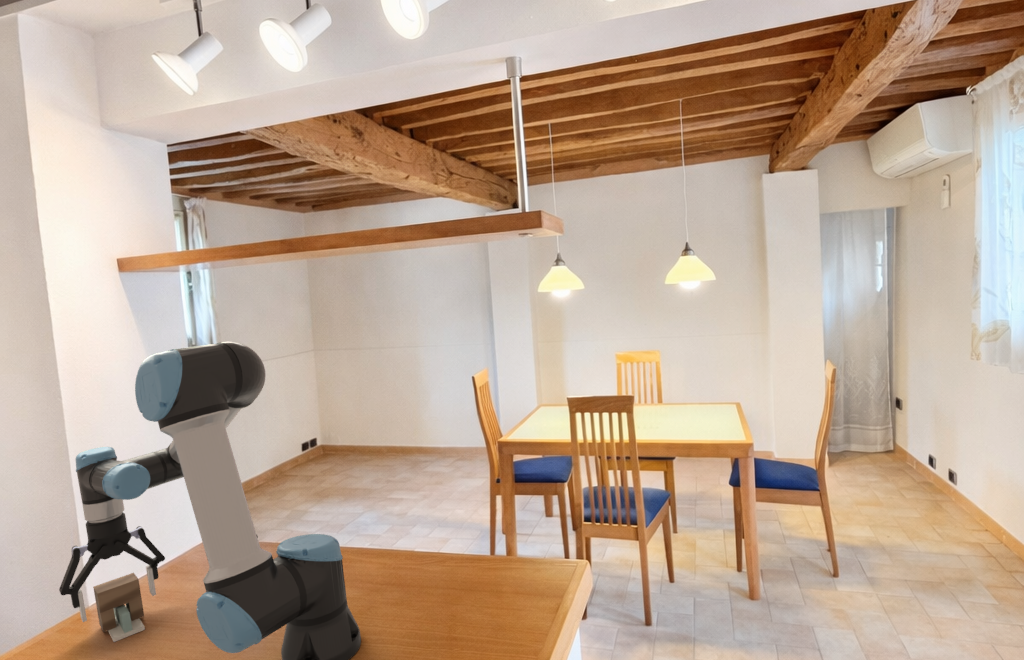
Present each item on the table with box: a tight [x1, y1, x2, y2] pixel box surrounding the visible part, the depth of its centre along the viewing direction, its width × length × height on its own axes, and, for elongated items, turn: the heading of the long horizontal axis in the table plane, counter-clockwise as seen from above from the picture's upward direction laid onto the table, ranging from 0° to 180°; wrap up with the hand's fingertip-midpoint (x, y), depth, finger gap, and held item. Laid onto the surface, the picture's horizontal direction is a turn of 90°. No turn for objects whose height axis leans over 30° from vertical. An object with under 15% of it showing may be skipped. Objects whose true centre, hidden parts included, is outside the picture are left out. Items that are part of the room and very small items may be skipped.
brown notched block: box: [93, 572, 145, 633], centre depth 140 cm, size 5×8×9 cm, turn 133°
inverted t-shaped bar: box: [107, 604, 146, 643], centre depth 141 cm, size 15×6×5 cm, turn 43°
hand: (119, 606), depth 140 cm, fingers open, 13 cm apart
